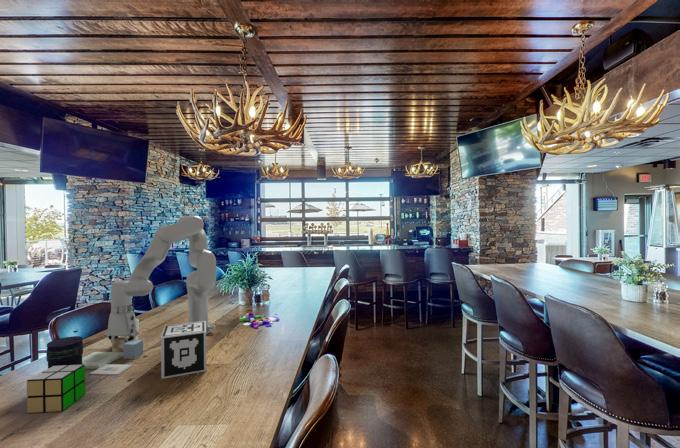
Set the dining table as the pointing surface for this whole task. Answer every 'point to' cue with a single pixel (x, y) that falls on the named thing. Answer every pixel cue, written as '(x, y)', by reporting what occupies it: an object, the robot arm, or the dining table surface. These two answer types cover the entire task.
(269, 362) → the dining table surface
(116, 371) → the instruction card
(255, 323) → the flower wreath
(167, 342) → the block
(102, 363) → the board
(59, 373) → the puzzle cube
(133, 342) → the slate block
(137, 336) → the white cup
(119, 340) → the maple block
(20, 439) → the dining table surface
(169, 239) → the robot arm
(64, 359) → the storage jar
